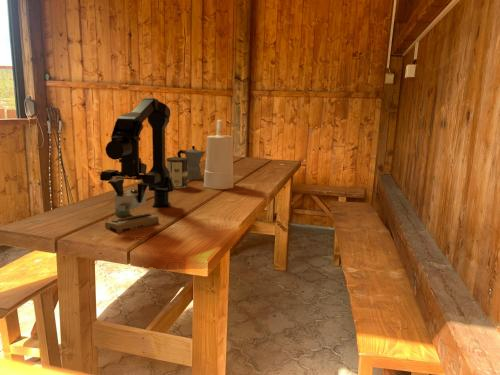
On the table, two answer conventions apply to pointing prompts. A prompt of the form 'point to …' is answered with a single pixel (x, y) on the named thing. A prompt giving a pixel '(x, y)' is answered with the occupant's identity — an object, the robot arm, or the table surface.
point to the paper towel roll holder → (219, 161)
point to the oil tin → (121, 213)
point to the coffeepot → (192, 162)
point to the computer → (132, 222)
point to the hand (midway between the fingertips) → (131, 202)
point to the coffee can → (178, 171)
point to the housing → (128, 200)
